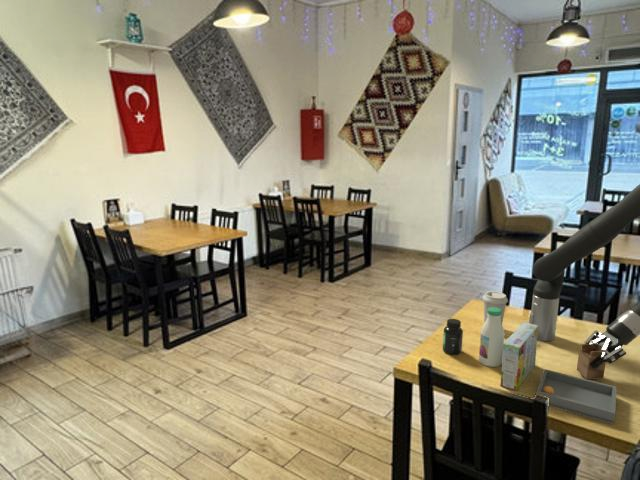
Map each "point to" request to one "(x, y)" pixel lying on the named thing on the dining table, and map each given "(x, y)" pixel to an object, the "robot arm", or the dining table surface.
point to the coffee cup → (494, 302)
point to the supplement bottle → (453, 337)
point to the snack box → (519, 355)
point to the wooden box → (586, 357)
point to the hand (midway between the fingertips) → (586, 361)
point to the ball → (548, 390)
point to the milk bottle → (492, 339)
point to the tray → (579, 395)
